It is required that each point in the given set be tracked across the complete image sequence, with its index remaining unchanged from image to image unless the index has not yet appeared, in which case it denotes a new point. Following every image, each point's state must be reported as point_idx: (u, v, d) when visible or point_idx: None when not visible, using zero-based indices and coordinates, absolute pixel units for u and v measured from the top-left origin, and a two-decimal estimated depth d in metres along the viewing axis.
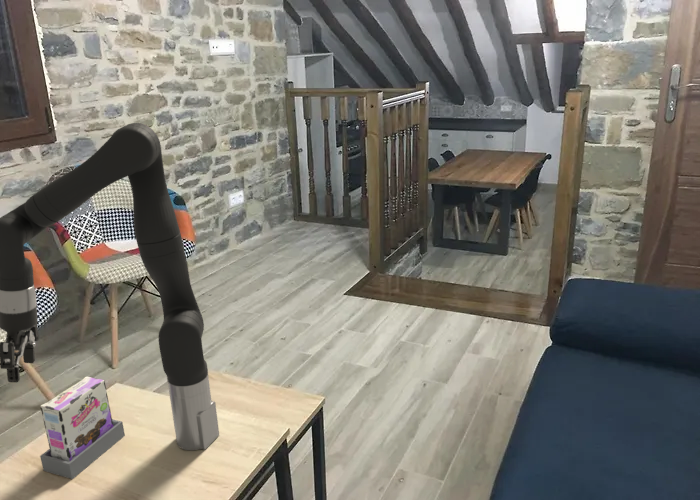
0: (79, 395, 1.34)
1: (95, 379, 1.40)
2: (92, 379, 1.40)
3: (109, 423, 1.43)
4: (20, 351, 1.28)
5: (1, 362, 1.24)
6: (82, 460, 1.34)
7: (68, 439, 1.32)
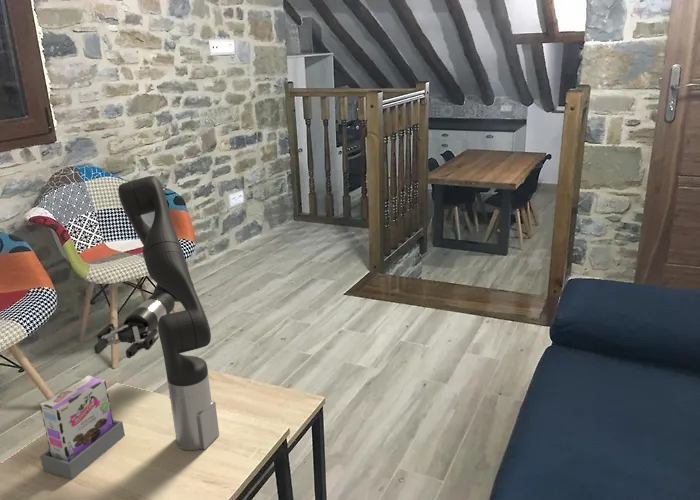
0: (78, 395, 1.34)
1: (96, 378, 1.41)
2: (93, 378, 1.41)
3: (110, 423, 1.43)
4: None
5: None
6: (82, 460, 1.34)
7: (67, 438, 1.32)
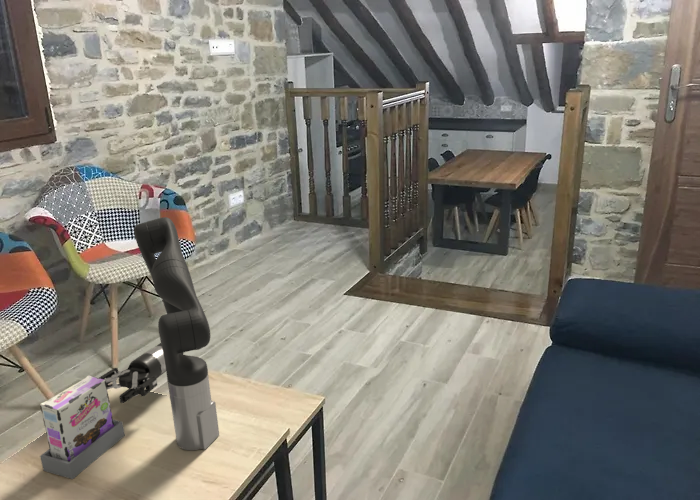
0: (78, 395, 1.34)
1: (96, 379, 1.41)
2: (93, 378, 1.41)
3: (110, 423, 1.43)
4: None
5: None
6: (82, 460, 1.34)
7: (67, 438, 1.32)
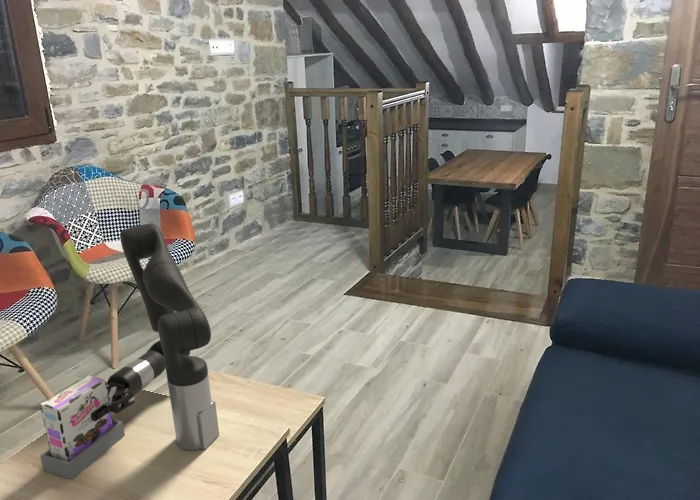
0: (79, 395, 1.34)
1: (97, 379, 1.40)
2: (94, 378, 1.41)
3: (110, 423, 1.43)
4: None
5: None
6: (82, 460, 1.34)
7: (67, 438, 1.32)
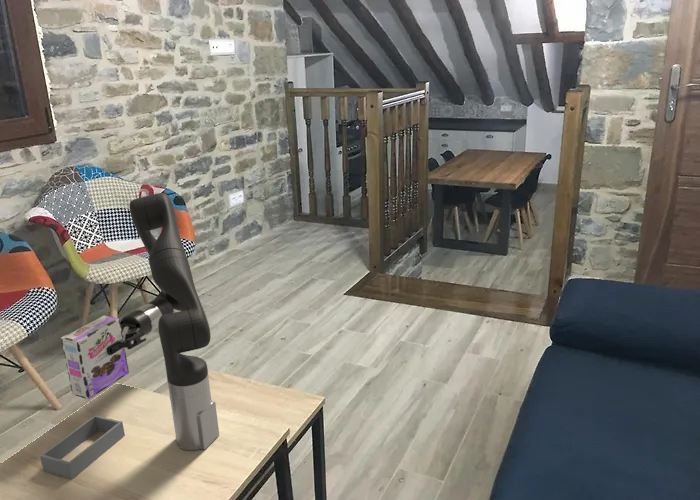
0: (95, 330, 1.47)
1: (111, 317, 1.53)
2: (108, 317, 1.53)
3: (123, 359, 1.56)
4: None
5: None
6: (82, 460, 1.34)
7: (85, 369, 1.45)
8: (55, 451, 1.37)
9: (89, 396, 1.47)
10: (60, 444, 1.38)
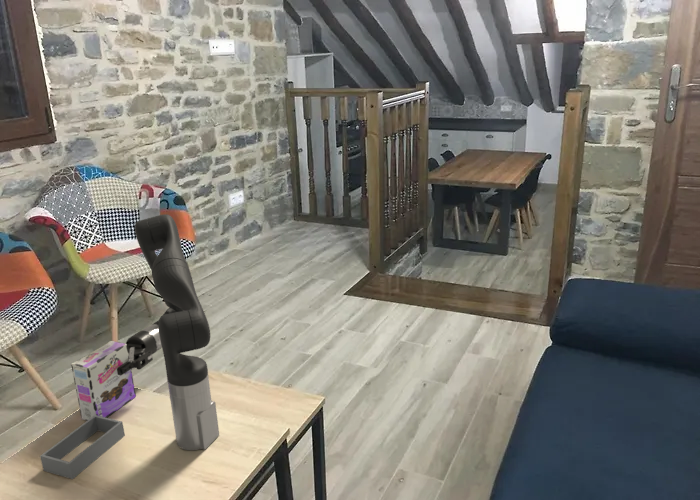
0: (104, 356, 1.51)
1: (118, 343, 1.58)
2: (116, 343, 1.58)
3: (130, 383, 1.60)
4: None
5: None
6: (82, 460, 1.34)
7: (95, 394, 1.49)
8: (55, 451, 1.37)
9: None
10: (60, 444, 1.38)
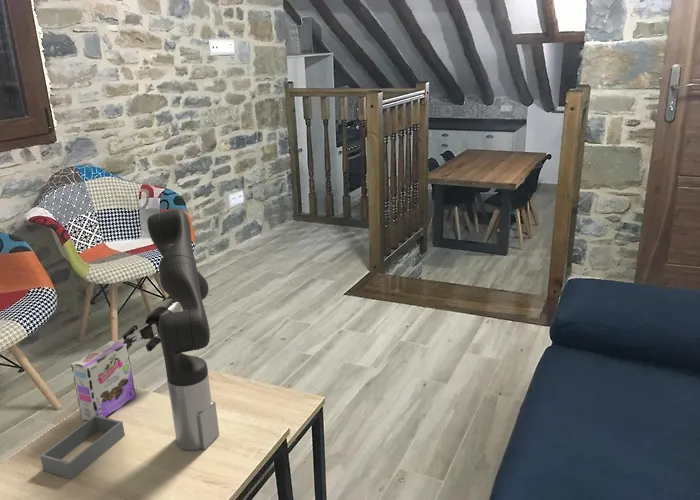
0: (104, 356, 1.51)
1: (118, 343, 1.58)
2: (116, 343, 1.58)
3: (130, 383, 1.60)
4: None
5: None
6: (82, 460, 1.34)
7: (95, 394, 1.49)
8: (55, 451, 1.37)
9: None
10: (60, 444, 1.38)
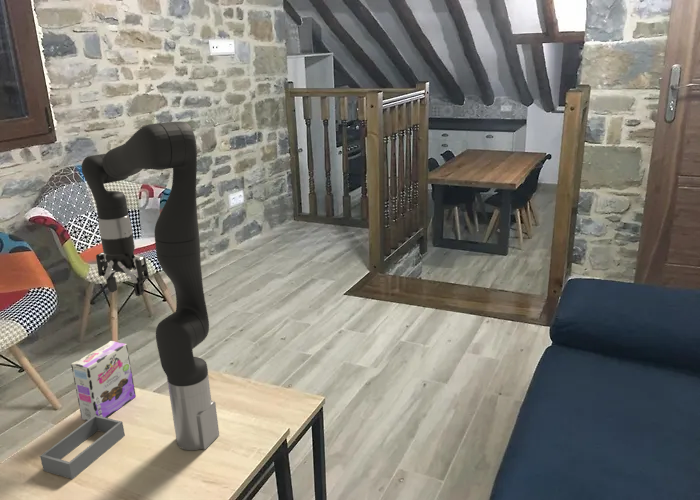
0: (104, 356, 1.51)
1: (118, 343, 1.58)
2: (116, 343, 1.58)
3: (130, 383, 1.60)
4: None
5: None
6: (82, 460, 1.34)
7: (95, 394, 1.49)
8: (55, 451, 1.37)
9: None
10: (60, 444, 1.38)
